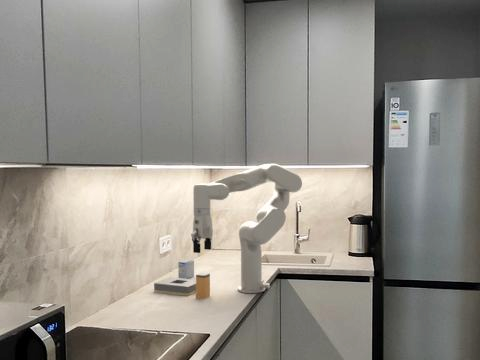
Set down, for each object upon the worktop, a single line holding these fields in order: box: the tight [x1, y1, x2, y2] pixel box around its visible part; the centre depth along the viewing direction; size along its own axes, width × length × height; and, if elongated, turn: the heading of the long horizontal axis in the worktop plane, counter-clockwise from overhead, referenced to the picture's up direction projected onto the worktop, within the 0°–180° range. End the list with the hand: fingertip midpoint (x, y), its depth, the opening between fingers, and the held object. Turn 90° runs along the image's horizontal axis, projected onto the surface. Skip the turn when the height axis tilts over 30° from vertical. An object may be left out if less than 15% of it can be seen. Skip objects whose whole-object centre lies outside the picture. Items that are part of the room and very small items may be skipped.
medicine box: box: [177, 259, 195, 279], centre depth 252 cm, size 8×4×9 cm, turn 149°
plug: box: [195, 272, 211, 299], centre depth 212 cm, size 4×4×10 cm
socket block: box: [153, 276, 196, 296], centre depth 224 cm, size 18×14×4 cm
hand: (202, 251), depth 212 cm, fingers open, 9 cm apart
